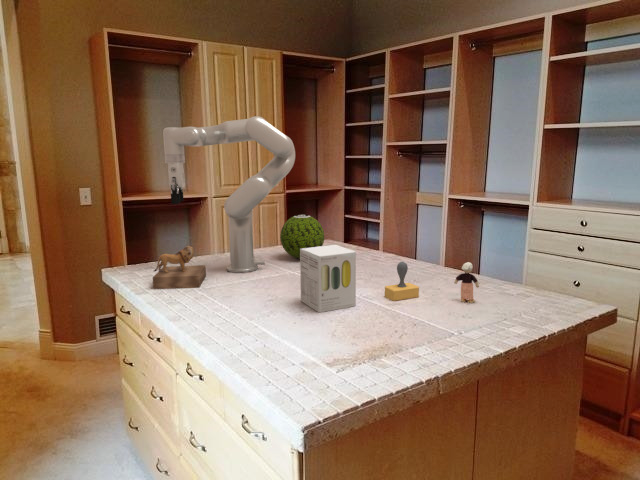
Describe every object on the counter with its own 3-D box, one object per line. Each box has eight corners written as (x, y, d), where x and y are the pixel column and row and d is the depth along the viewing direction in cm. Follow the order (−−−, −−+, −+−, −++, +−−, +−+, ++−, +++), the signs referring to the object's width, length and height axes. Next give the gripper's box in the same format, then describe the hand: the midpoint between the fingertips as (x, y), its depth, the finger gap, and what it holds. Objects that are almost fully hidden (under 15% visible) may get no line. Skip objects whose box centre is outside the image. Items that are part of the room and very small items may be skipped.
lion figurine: (194, 267, 178) (192, 244, 177) (195, 270, 174) (194, 247, 172) (153, 271, 173) (151, 247, 172) (153, 274, 168) (152, 250, 167)
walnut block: (206, 277, 183) (205, 265, 182) (199, 289, 167) (198, 275, 166) (164, 279, 182) (163, 266, 181) (153, 290, 166) (152, 277, 165)
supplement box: (318, 313, 139) (318, 256, 136) (300, 301, 151) (299, 248, 148) (356, 306, 145) (356, 251, 142) (335, 295, 157) (335, 244, 154)
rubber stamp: (408, 292, 159) (409, 258, 157) (419, 297, 154) (420, 261, 152) (384, 296, 155) (384, 261, 153) (393, 301, 150) (394, 265, 147)
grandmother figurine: (478, 300, 150) (480, 261, 147) (478, 304, 146) (480, 264, 144) (453, 298, 152) (455, 260, 150) (452, 301, 149) (454, 262, 146)
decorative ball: (324, 263, 202) (324, 217, 199) (278, 263, 203) (277, 217, 199) (324, 253, 222) (324, 211, 218) (282, 253, 222) (281, 212, 218)
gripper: (181, 159, 176) (184, 204, 180) (187, 159, 193) (190, 200, 196) (160, 159, 175) (164, 205, 179) (168, 159, 192) (171, 200, 195)
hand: (177, 202), depth 187 cm, fingers open, 9 cm apart
